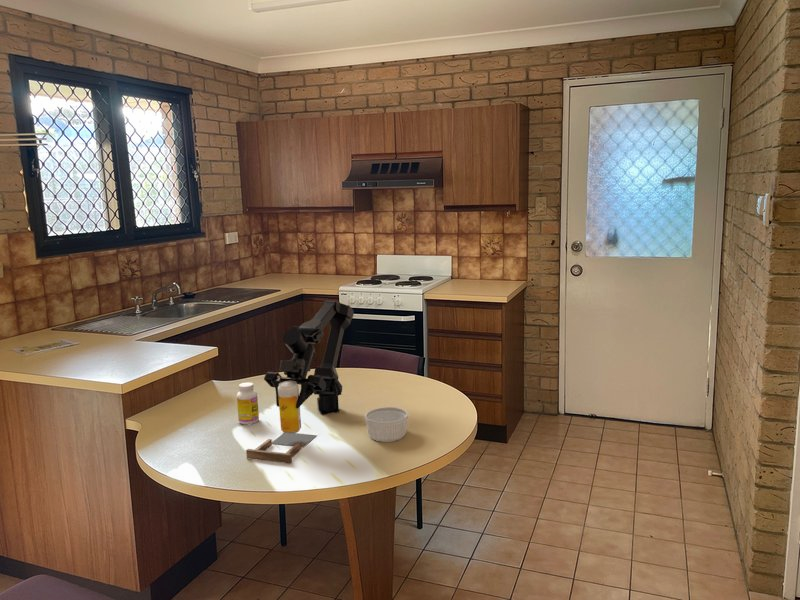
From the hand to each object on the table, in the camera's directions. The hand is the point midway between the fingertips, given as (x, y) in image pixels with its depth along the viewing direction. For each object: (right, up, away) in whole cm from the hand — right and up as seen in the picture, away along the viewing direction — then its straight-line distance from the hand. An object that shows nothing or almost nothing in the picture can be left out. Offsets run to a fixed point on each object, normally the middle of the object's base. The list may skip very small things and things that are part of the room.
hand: (287, 407), depth 190 cm
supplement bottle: (-17, -9, +21) cm, 28 cm away
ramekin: (+30, -10, +6) cm, 32 cm away
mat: (+1, -11, +5) cm, 12 cm away
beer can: (+1, -8, +3) cm, 8 cm away
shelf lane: (-2, -13, -5) cm, 14 cm away
